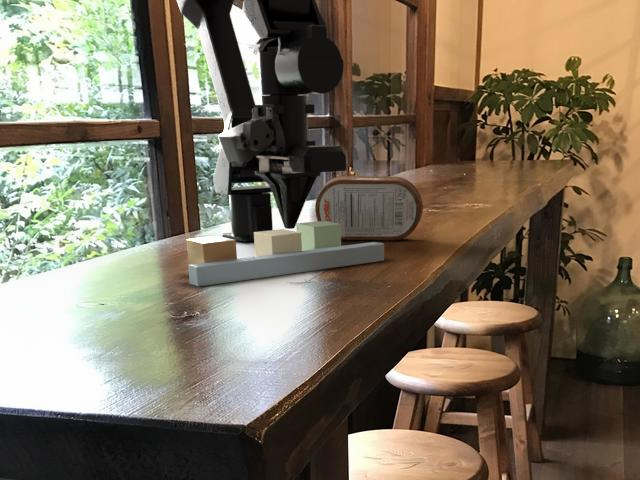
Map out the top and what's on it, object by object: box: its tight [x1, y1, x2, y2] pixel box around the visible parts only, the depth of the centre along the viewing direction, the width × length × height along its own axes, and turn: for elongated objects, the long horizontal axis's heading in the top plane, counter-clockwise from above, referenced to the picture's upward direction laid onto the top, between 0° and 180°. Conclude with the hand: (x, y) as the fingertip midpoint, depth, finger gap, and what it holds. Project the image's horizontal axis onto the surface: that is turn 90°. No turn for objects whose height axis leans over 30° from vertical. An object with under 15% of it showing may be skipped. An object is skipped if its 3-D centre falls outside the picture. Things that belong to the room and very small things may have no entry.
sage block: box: [295, 220, 342, 251], centre depth 101 cm, size 4×4×4 cm
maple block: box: [185, 235, 238, 265], centre depth 89 cm, size 4×4×4 cm
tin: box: [314, 175, 424, 242], centre depth 112 cm, size 15×3×8 cm, turn 84°
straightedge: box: [187, 241, 385, 288], centre depth 92 cm, size 2×25×2 cm, turn 127°
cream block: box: [253, 228, 302, 257], centre depth 94 cm, size 4×4×4 cm
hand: (289, 228), depth 105 cm, fingers closed
